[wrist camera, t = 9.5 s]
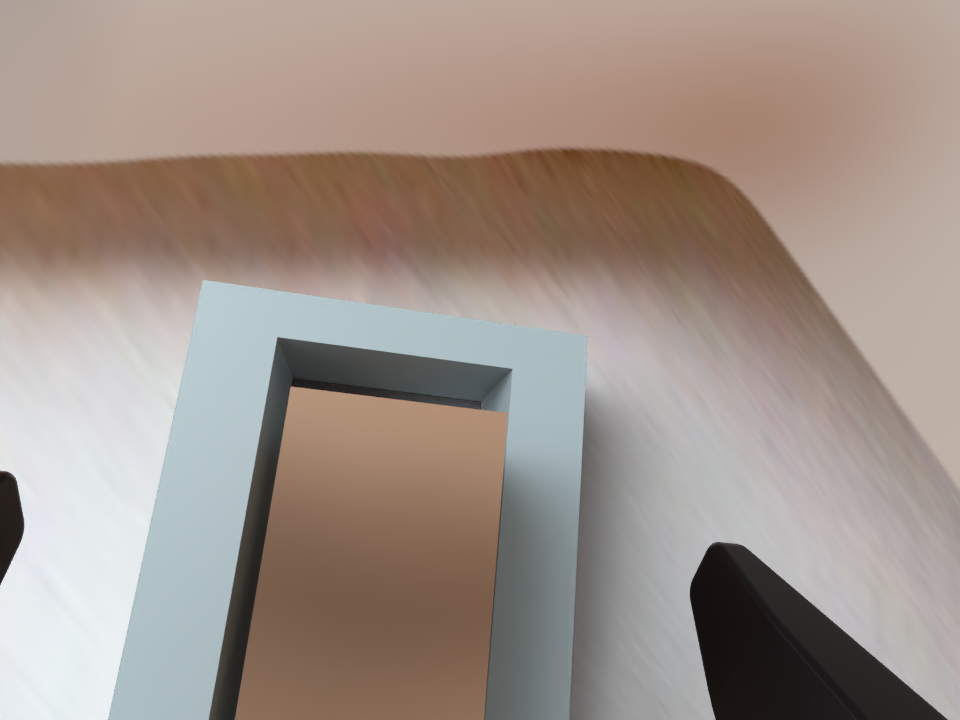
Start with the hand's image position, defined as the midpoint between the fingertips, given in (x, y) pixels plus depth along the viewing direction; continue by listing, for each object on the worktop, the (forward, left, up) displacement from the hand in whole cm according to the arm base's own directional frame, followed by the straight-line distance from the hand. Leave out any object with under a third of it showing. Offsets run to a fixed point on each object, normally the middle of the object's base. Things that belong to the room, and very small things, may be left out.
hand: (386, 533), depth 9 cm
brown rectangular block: (-2, 0, -12) cm, 12 cm away
